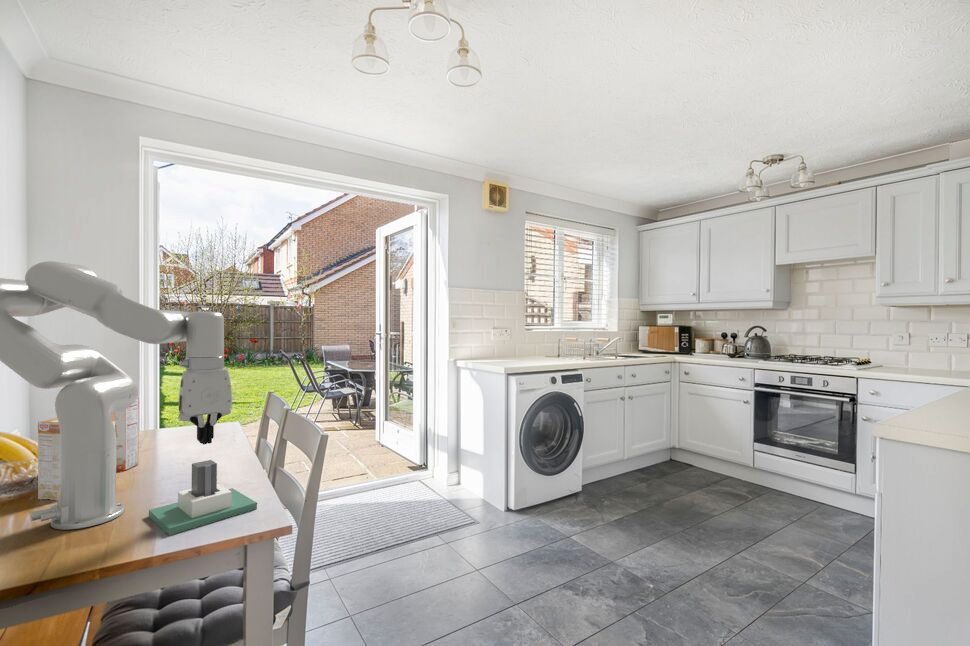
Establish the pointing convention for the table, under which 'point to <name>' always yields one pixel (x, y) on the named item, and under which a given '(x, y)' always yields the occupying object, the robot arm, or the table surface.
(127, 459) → the cracker box
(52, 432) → the coffeecake box
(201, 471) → the plug
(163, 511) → the board
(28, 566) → the table surface
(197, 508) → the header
